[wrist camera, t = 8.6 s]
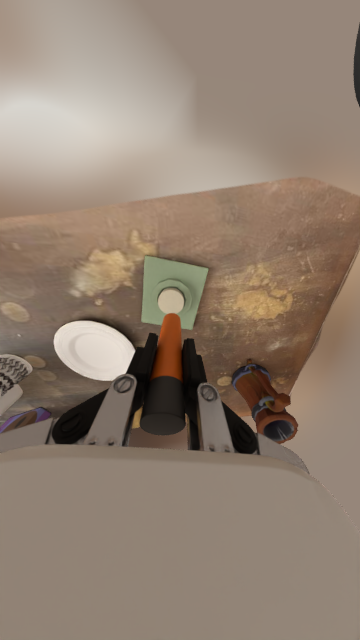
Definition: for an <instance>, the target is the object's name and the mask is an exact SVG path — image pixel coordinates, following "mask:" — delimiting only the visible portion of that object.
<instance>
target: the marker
mask: <svg viewBox="0 0 360 640" xmlns="http://www.w3.org/2000/svg"><path fill="white" fill-rule="evenodd" d="M139 424H140V427H141V428H142V429H143V430H144V431H146V432H148V433H151V434H155V435H171V434H175V433H178V432H180V431H181V430H183V429H184V427H185V424H186V422H185V399H184V385H183V370H182V344H181V320H180V317H179V316H178V315H177V314H175V313H169V314H167V315H165V317H164V319H163V323H162V327H161V332H160V336H159V341H158V345H157V350H156V354H155V359H154V363H153V368H152V372H151V377H150V381H149V384H148V387H147V391H146V395H145V400H144V404H143V409H142V413H141V417H140V422H139Z"/></svg>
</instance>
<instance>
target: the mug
mask: <svg viewBox="0 0 360 640" xmlns="http://www.w3.org/2000/svg"><path fill="white" fill-rule="evenodd" d="M270 380H271V378H270V375H269V373H268V371H267V370H266V369H265V368H263V367H261V366H259V365H255V364H252V360H251V359H249V360H248V361H247V366H245V367H242V368H239V369H238V370H237V371H236V372H235V373H234V375H233V379H232V385H233V387H234V388H235V390H236V391H238V392H239V393H240V394H241V395H242V397H243V398H244V399H245V400H246V402H247V404H248V405H249V407H250V409H251V411H252V418H253V419H254V421H255V422H256V428H257V432H258V433H260V434H262V435H264V436H266V437H267V438H269V439H271V440H273V441H275V442H277V443H278V444H281V443H284V442H285V441H287V440H291V439H292V438H293V437H294V436H295V434H296V432H297V427H298V424H297V422H296V420H295V418H294V417H293V416H291V415H290V414H289V413H288V412H286V409H285V407H286V406H288V405H290V404H291V403H290V396H288V395H286V394H284V393H281V394H278V393H277V392H276V391H275V390H274V388H273V387H272V386H271V383H270Z"/></svg>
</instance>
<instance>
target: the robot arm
mask: <svg viewBox="0 0 360 640" xmlns="http://www.w3.org/2000/svg"><path fill="white" fill-rule="evenodd" d="M157 343H158V336H157V335H156V334H155V333H149V336H148V339H147V342H146V345H145V347H144V348H143V347H137V349H136V351H135V353H134V355H133V358H132V360H131V362H130V365H129V367H128V369H127V372H126V374H122V375H120V376H118V377H116V378H115V379H114V380H113V382H112V383H111V385H110V387H109V388H108V389H107V390H105V391H103V392H101V393H99V394H98V395H96V396H94V397H92V398H90V399H89V400H87V401H85V402H83V403H81V404H80V405H78V406H76V407H74V408H72V409H71V410H69V411H67V412H66V413H64V414H63V415H62V416H61V417H59V418H56V419H54V417H52V418H49V419H46V420H42V421H39V422H36V423H32V424H29V425H26V426H22V427H19V428H16V429H12V430H9V431H6V432H3V433H0V640H360V531H359V530H358V528H357V527H356V526H355V524H354V523H353V521H352V520H351V518H350V517H349V516H348V514H347V513H346V512H345V510H344V509H343V508H342V506H341V505H340V504H339V502H338V501H337V500H336V499H335V497H334V496H333V495H332V494H331V493H330V492H329V491H328V490H327V488H325V487H324V486H323V485H322V484H321V483H320V482H319V481H317V480H316V479H315V478H314V477H312V476H311V475H310V474H309V471H308V469H307V467H306V465H305V464H304V463H303V461H302V459H301V458H299V456H298V455H297V454H295V453H294V452H293V451H291V450H289V449H288V448H286V447H284V446H282V445H280V444H278V443H277V442H275V441H273V440H271V439H269V438H267V437H266V436H264V435H262V434H260V433H258V432H257V433H254V432H253V430H252V429H251V428H250V427H249V425H247V423H245V422H244V421H243V420H242V419H241V418H240V417H239V416H238V415H237V414H235V413H234V412H233V411H232V410H231V409H230V408H229V407H228V406H227V405H225V404H224V403H223V402H222V401H221V398H220V394H219V392H218V390H217V389H216V387H215V386H213V385H212V384H210V383H207V379H206V374H205V370H204V366H203V361H202V357H201V355H196V349H195V344H194V339H190V338H187V340H184V344H183V348H182V370H183V385H184V399H185V413H186V414H187V432H188V450H175V449H157V448H139V447H128V442H129V439H130V434H131V430H132V426H133V421H134V417H135V412H137V411H138V410H139V409H140V408H141V406H143V402H144V400H145V395H146V391H147V387H148V384H149V381H150V377H151V372H152V368H153V363H154V359H155V354H156V350H157Z"/></svg>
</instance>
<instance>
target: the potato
mask: <svg viewBox="0 0 360 640" xmlns="http://www.w3.org/2000/svg"><path fill="white" fill-rule="evenodd" d="M141 413H142V407H141V408H140V409H139V410H138V411H137V412H135V417H134V421H133V426H132V428H137V427H139V426H140V424H139V422H140V417H141Z"/></svg>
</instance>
